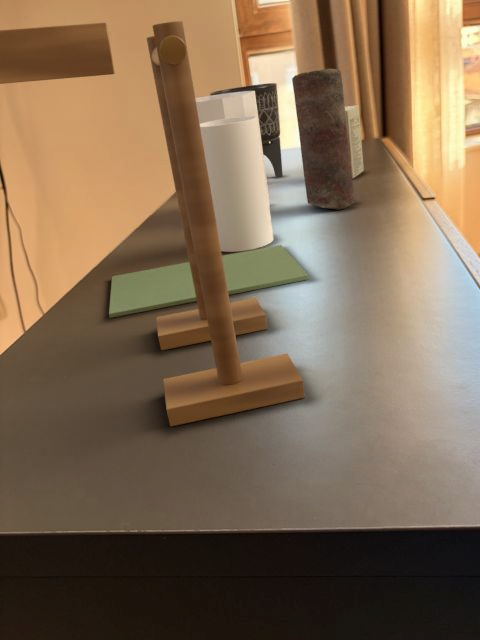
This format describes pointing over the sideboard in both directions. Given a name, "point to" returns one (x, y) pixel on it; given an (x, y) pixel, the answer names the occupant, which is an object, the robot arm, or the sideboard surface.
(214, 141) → the cup
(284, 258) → the mat
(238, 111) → the container
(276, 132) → the planter
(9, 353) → the sideboard surface
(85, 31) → the hanger
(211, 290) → the rail stand
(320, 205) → the candle
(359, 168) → the cosmetic box
